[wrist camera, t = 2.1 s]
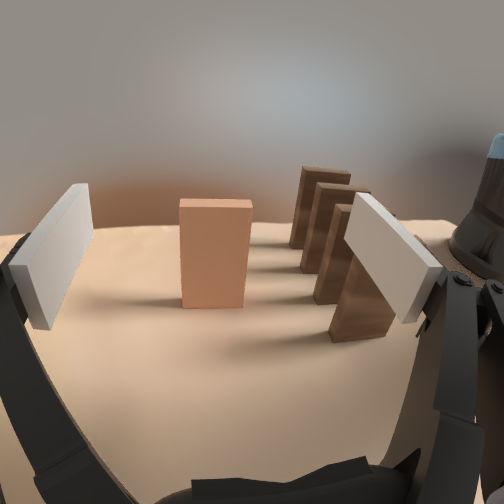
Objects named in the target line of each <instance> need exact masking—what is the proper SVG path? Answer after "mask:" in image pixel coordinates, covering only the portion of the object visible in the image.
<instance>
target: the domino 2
mask: <svg viewBox="0 0 504 504" xmlns="http://www.w3.org/2000/svg"><path fill="white" fill-rule="evenodd" d="M350 177H351V174H350V173H349V172H347V171H346V170H338V169H328V168H318V167H305V166H303V167H302V172H301V178H300V184H299V190H298V196H297V202H296V208H295V214H294V219H293V225H292V231H291V236H290V242H289V243H290V245H291V248H292V249H304V245H305V240H306V235H307V230H308V225H309V220H310V215H311V210H312V205H313V200H314V195H315V190H316V184H317V182H319V183H332V184H343V185H349V182H350Z"/></svg>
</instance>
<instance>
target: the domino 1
mask: <svg viewBox="0 0 504 504" xmlns="http://www.w3.org/2000/svg"><path fill="white" fill-rule="evenodd" d="M252 214H253V206H252V203H251V200H233V199H181V200H180V258H181V284H182V304H183V308H242V307H243V298H244V289H245V279H246V270H247V261H248V251H249V242H250V233H251V224H252Z"/></svg>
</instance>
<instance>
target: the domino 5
mask: <svg viewBox="0 0 504 504" xmlns="http://www.w3.org/2000/svg"><path fill="white" fill-rule="evenodd" d="M413 236H414V237H415V238H416V239H417V240H418V241H419V242H421V243H422V244H423V245H424V246H425V247H426V244H425V243H424V242H423V241H422V240H421V239H420V238H419V237H418V236H417V235H413ZM395 315H396V314H395V312H394V311H393V309H392V308H391V306H390V305H389V303H388V302H387V300H386V299H385V297H384V296H383V294H382V293H381V291H380V290H379V288H378V287H377V285H376V284H375V282H374V281H373V279H372V278H371V276H370V275H369V273H368V272H367V271H366V269H365V268H364V266H363V265H362V263H361V262H360V260H359V259H358V258H357V256H356V255H355V253H354V255H353V258H352V262H351V265H350V268H349V271H348V274H347V277H346V280H345V284H344V287H343V290H342V293H341V296H340V299H339V302H338V304H337V307H336V310H335V313H334V316H333V319H332V322H331V324H330V327H329V330H328V332H329V334H330V336H331V339H332V341H333V343H336V342H345V341H353V340H362V339H369V338H377V337H384V336H385V335H386V333H387V332H388V330H389V328H390V326H391V324H392V322H393V320H394V318H395Z"/></svg>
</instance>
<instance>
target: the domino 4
mask: <svg viewBox="0 0 504 504" xmlns="http://www.w3.org/2000/svg"><path fill="white" fill-rule="evenodd" d="M352 206H353V205H348V204H335V208H334V212H333V217H332V221H331V225H330V229H329V234H328V238H327V242H326V246H325V250H324V254H323V258H322V262H321V266H320V270H319V273H318V277H317V281H316V285H315V289H314V292H313V297H314V299H315V301H316V304H317V305H321V304H338V302H339V299H340V296H341V293H342V290H343V287H344V284H345V280H346V277H347V274H348V271H349V268H350V265H351V262H352V258H353V255H354V252H353V251H352V249H351V248H350V246H349V245H348V244H347V242H346V241H345V239H344V236H345V233H346V229H347V225H348V221H349V218H350V214H351V210H352ZM384 208H385V209H386V210H387V211H388V212H389V213H390V214H391V215H393V216H394V217H395V214H394V213H393V212H392V211H391V210H390V209H389V208H387V207H384Z"/></svg>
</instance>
